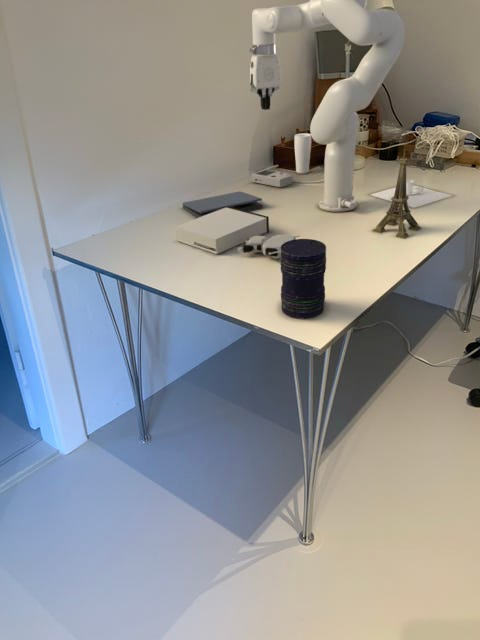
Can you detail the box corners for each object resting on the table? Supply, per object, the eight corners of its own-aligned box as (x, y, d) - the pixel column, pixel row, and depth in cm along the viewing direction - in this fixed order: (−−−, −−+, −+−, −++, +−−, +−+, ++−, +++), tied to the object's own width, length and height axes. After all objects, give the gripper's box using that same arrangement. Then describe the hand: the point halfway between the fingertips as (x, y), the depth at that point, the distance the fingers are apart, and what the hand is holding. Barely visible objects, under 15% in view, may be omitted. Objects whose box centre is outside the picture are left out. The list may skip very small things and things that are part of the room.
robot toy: (235, 260, 150) (284, 264, 143) (233, 244, 148) (283, 248, 141) (256, 244, 159) (303, 248, 152) (254, 229, 157) (302, 233, 150)
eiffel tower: (404, 238, 156) (414, 150, 143) (372, 231, 162) (378, 145, 150) (421, 228, 162) (432, 142, 150) (389, 221, 169) (397, 138, 156)
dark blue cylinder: (307, 324, 116) (308, 260, 109) (272, 310, 122) (270, 249, 115) (333, 306, 123) (335, 244, 115) (298, 294, 129) (298, 235, 121)
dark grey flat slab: (262, 207, 186) (262, 204, 186) (201, 220, 178) (201, 217, 177) (240, 196, 199) (240, 193, 198) (182, 208, 190) (182, 204, 189)
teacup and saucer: (426, 193, 192) (427, 181, 190) (411, 197, 188) (412, 186, 186) (406, 188, 198) (408, 176, 196) (391, 192, 194) (392, 181, 192)
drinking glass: (311, 174, 221) (312, 136, 213) (294, 175, 221) (294, 137, 214) (309, 170, 227) (310, 132, 219) (293, 170, 227) (293, 133, 219)
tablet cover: (261, 200, 185) (261, 198, 185) (200, 213, 176) (200, 211, 176) (240, 193, 198) (240, 191, 198) (182, 205, 189) (182, 202, 189)
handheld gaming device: (280, 188, 205) (280, 178, 203) (251, 182, 214) (250, 173, 212) (294, 183, 211) (294, 173, 209) (265, 178, 219) (265, 168, 218)
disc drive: (269, 232, 166) (268, 216, 163) (217, 255, 152) (216, 238, 149) (228, 220, 176) (227, 205, 174) (176, 241, 163) (174, 225, 160)
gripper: (250, 52, 174) (252, 113, 183) (289, 49, 180) (289, 107, 189) (239, 52, 180) (241, 110, 189) (277, 48, 186) (278, 105, 195)
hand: (265, 109), depth 189 cm, fingers closed
